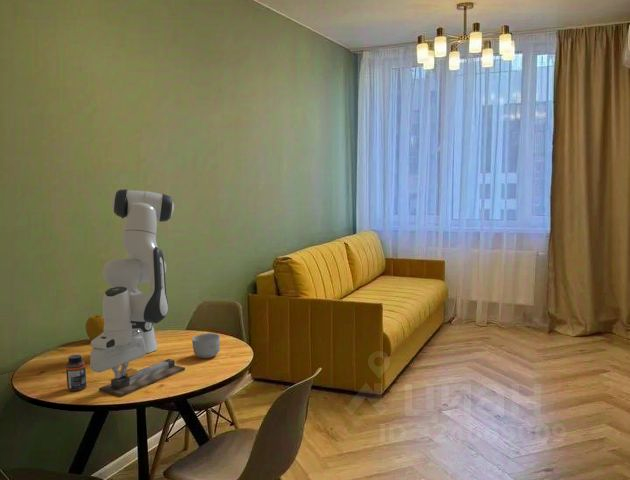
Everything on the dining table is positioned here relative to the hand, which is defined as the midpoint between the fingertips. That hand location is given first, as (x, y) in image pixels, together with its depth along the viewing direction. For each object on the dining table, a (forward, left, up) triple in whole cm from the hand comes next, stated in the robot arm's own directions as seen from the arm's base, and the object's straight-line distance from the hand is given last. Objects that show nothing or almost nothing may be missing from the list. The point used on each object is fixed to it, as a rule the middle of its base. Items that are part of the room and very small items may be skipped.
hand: (120, 377), depth 184 cm
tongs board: (0, +10, -4) cm, 11 cm away
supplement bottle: (-14, -7, -4) cm, 16 cm away
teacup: (+1, +42, -4) cm, 43 cm away
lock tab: (0, +4, 0) cm, 4 cm away
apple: (-57, +36, -4) cm, 68 cm away
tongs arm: (0, +13, -2) cm, 13 cm away
